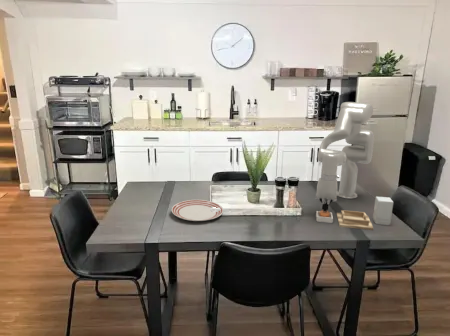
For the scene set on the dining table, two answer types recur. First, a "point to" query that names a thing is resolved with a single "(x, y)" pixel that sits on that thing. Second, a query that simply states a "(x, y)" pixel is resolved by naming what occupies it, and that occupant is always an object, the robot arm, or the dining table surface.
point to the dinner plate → (196, 210)
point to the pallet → (354, 220)
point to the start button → (324, 213)
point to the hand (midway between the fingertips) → (324, 210)
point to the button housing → (324, 218)
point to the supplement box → (382, 210)
